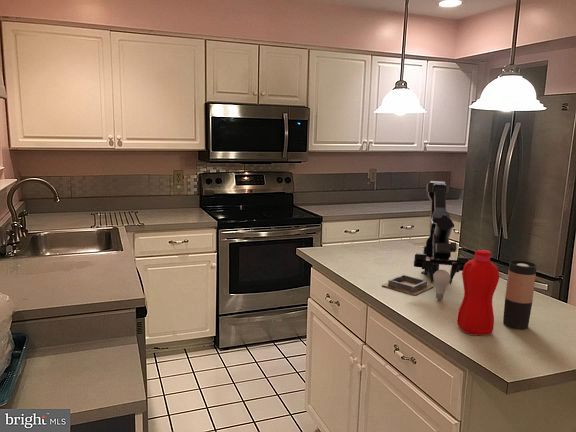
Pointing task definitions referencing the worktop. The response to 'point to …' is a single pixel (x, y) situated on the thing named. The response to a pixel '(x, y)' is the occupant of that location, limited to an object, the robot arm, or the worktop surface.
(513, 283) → the travel mug
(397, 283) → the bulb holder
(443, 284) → the lightbulb
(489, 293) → the water bottle
